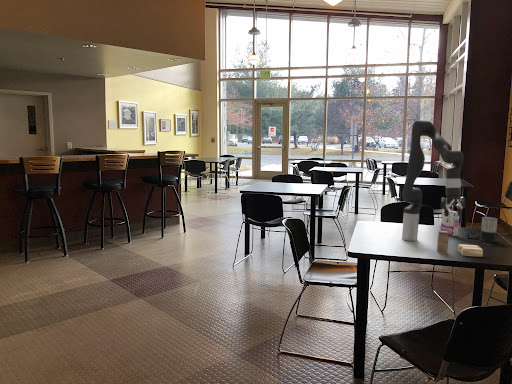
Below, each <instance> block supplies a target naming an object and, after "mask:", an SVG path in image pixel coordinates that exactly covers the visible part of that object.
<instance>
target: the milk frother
mask: <svg viewBox="0 0 512 384" xmlns="http://www.w3.org/2000/svg"><path fill="white" fill-rule="evenodd" d="M498 220H499V219H498V218H496V217H491V216H483V217H482V216H481V227H480V228H481V229H480V235H479V234H477V233H475V232H473V231H468V232H466V233H465V236H466V237H467V238H468V239H473V240H475V239H478V237H479V240H480V241H482V242H488V243H495V242H496V241H497V229H498V228H497V227H498Z"/></svg>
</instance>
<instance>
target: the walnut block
mask: <svg viewBox="0 0 512 384" xmlns="http://www.w3.org/2000/svg"><path fill="white" fill-rule="evenodd" d="M437 233H438V235H437V246H436V247H437V248H436V252H437V253H438V254H445V255H446V254H447V255H448V251H449V239H450V238H449V236H450V235H449V232H448V231H441V230H438V232H437Z"/></svg>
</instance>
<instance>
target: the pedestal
mask: <svg viewBox="0 0 512 384" xmlns="http://www.w3.org/2000/svg"><path fill="white" fill-rule="evenodd" d="M457 251H458V253H460V254H461V255H462V256H466V257H481V258H483V256H484V255H483V253H484V249H483V248H481V247H480V246H479V245H477V244H476V245H475V244H463V243H462V244H461V243H460V244H459V243H458V245H457Z"/></svg>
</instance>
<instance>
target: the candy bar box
mask: <svg viewBox="0 0 512 384" xmlns="http://www.w3.org/2000/svg"><path fill="white" fill-rule="evenodd" d="M448 210H449V216H448V217H447V216H445V215H444V209H442V210H441V221H440V222H441V223H440V231H448V232H449V236H451V237H459V227H460V217H461V216H458V211H456V210H451V209H448Z"/></svg>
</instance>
